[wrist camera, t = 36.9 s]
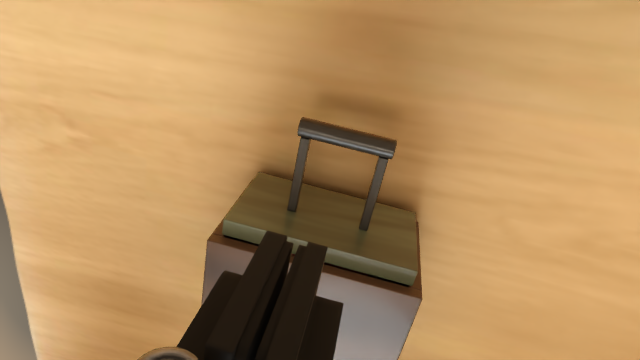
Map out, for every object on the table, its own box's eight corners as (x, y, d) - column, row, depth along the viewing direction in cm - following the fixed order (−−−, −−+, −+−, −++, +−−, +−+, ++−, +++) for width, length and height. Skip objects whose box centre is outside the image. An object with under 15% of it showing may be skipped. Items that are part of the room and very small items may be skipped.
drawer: (270, 89, 30) (233, 120, 24) (443, 131, 30) (454, 176, 23) (238, 309, 40) (206, 373, 34) (368, 346, 39) (361, 420, 33)
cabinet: (252, 178, 35) (206, 240, 27) (418, 221, 34) (422, 299, 26) (233, 318, 42) (192, 401, 34) (369, 357, 41) (361, 451, 33)
